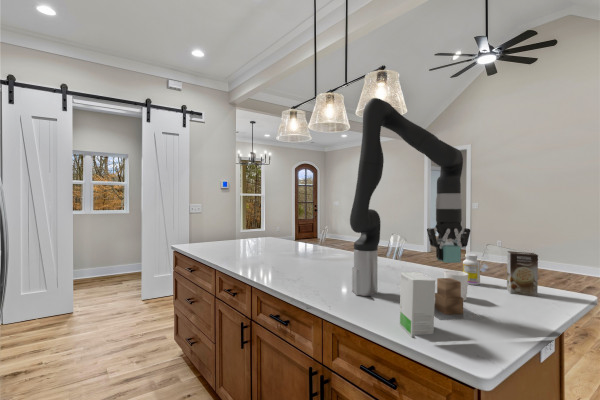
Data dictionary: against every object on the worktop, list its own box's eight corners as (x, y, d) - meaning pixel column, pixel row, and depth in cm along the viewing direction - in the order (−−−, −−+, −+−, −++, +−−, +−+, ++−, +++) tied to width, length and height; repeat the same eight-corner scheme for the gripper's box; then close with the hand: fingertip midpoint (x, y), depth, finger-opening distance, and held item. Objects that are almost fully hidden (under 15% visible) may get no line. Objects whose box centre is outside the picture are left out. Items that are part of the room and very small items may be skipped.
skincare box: (399, 325, 88) (399, 272, 88) (420, 324, 89) (420, 271, 89) (412, 338, 80) (412, 279, 80) (435, 337, 80) (436, 278, 81)
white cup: (465, 297, 114) (465, 271, 115) (470, 304, 107) (470, 276, 107) (443, 295, 117) (443, 269, 117) (445, 301, 110) (445, 274, 110)
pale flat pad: (440, 322, 90) (440, 320, 90) (417, 306, 104) (417, 304, 104) (484, 321, 92) (484, 318, 92) (455, 305, 106) (455, 303, 106)
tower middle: (445, 298, 95) (445, 282, 95) (437, 293, 100) (437, 278, 100) (460, 297, 96) (460, 281, 96) (451, 293, 101) (451, 278, 101)
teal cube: (445, 262, 95) (445, 246, 95) (437, 259, 100) (437, 244, 100) (460, 262, 96) (460, 246, 96) (451, 259, 101) (451, 244, 101)
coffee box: (509, 293, 120) (509, 253, 120) (506, 289, 126) (506, 250, 126) (538, 296, 116) (538, 254, 117) (533, 292, 122) (533, 252, 122)
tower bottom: (445, 314, 95) (445, 298, 95) (434, 307, 101) (434, 292, 101) (463, 314, 95) (463, 298, 95) (451, 307, 101) (451, 292, 101)
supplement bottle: (469, 280, 140) (469, 253, 140) (483, 284, 134) (483, 255, 134) (459, 282, 137) (459, 254, 137) (473, 286, 131) (473, 256, 131)
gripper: (433, 207, 94) (433, 262, 94) (476, 207, 95) (477, 261, 95) (421, 207, 101) (421, 258, 101) (461, 207, 103) (462, 257, 103)
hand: (448, 259), depth 98 cm, fingers closed on teal cube, 5 cm apart
